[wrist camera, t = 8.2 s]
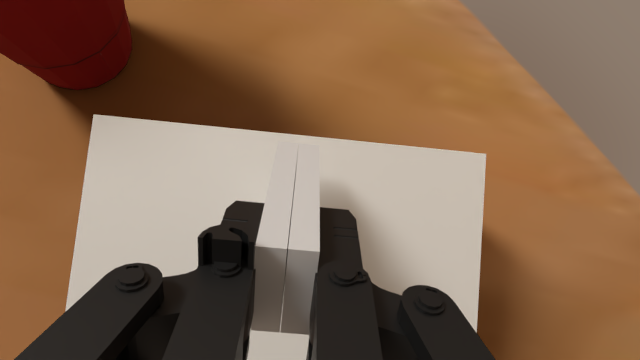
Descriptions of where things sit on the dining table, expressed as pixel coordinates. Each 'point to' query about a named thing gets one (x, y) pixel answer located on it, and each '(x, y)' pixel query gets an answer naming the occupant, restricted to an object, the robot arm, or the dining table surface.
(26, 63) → the plastic cup
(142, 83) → the dining table surface
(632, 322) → the dining table surface
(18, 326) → the dining table surface
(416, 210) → the block
